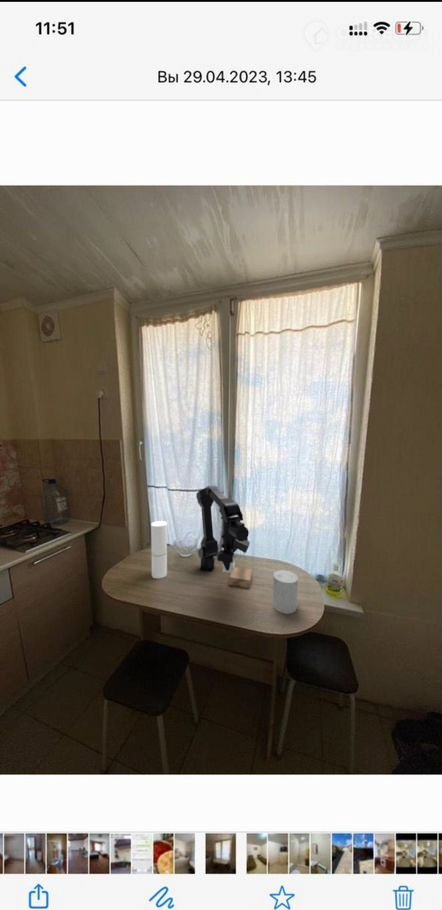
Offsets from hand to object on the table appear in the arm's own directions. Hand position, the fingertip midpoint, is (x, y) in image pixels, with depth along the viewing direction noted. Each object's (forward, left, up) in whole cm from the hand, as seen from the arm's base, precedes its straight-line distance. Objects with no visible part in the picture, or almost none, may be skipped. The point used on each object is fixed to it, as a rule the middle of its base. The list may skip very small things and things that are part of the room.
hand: (228, 567), depth 106 cm
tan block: (+5, +9, -11) cm, 15 cm away
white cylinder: (+23, -3, -11) cm, 26 cm away
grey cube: (0, 0, -1) cm, 1 cm away
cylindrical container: (-35, +6, -11) cm, 37 cm away
